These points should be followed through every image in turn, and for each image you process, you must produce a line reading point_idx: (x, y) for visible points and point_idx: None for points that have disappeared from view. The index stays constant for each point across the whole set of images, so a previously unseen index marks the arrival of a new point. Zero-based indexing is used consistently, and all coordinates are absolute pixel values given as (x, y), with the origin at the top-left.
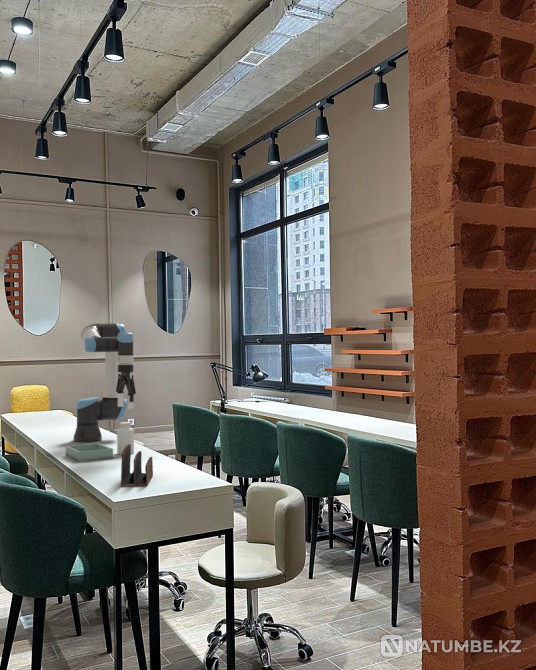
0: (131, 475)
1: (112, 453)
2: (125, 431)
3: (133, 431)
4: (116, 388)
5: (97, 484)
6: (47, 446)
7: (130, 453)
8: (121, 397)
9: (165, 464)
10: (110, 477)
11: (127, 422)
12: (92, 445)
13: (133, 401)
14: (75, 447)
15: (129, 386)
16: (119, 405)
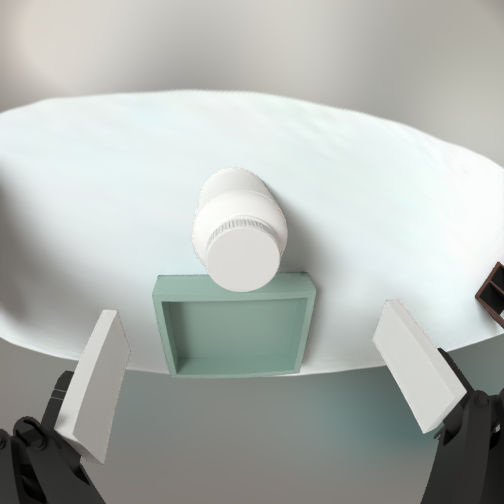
0: (500, 308)
1: (311, 282)
2: (283, 252)
3: (269, 197)
4: (34, 493)
5: (467, 341)
6: (23, 341)
7: (501, 317)
8: (95, 404)
9: (467, 188)
10: (459, 322)
11: (245, 247)
12: (164, 313)
13: (430, 345)
14: (173, 356)
15: (485, 487)
16: (125, 352)
